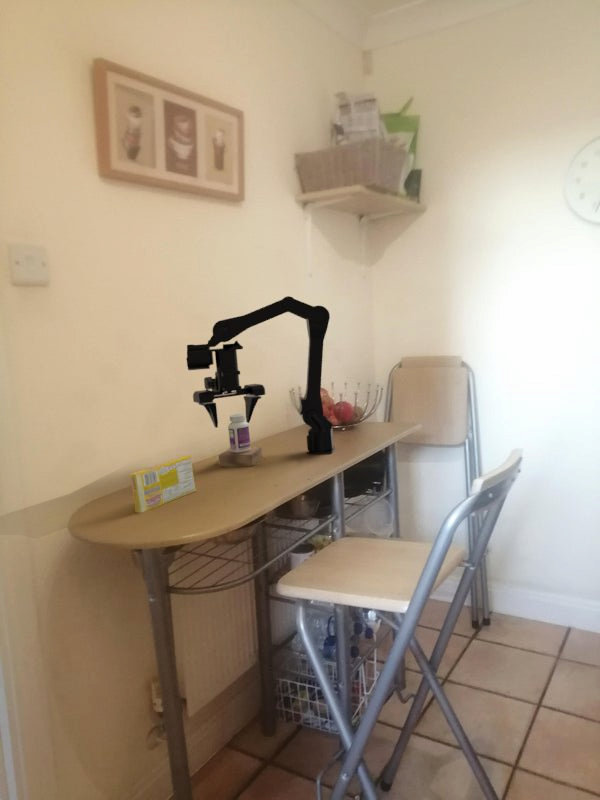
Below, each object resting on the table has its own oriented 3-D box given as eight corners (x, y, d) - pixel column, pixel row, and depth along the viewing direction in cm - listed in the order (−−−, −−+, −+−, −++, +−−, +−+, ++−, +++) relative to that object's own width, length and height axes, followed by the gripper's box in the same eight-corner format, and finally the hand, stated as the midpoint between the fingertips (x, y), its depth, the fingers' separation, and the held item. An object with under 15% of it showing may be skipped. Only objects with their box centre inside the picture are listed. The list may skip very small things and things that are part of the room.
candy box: (189, 491, 139) (185, 455, 138) (196, 491, 138) (192, 455, 137) (134, 512, 126) (129, 473, 125) (141, 513, 125) (136, 474, 124)
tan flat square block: (262, 457, 167) (261, 446, 167) (252, 465, 158) (251, 454, 158) (230, 458, 169) (229, 447, 169) (219, 466, 160) (218, 455, 160)
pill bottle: (252, 448, 166) (249, 412, 164) (248, 452, 160) (245, 416, 159) (232, 449, 166) (229, 414, 165) (228, 453, 161) (225, 417, 160)
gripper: (247, 363, 175) (252, 417, 177) (184, 370, 167) (189, 426, 169) (263, 364, 166) (268, 421, 168) (197, 371, 157) (203, 431, 159)
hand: (232, 424), depth 166 cm, fingers open, 9 cm apart
